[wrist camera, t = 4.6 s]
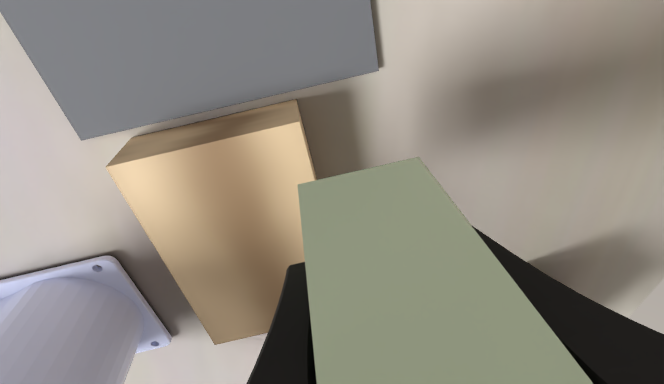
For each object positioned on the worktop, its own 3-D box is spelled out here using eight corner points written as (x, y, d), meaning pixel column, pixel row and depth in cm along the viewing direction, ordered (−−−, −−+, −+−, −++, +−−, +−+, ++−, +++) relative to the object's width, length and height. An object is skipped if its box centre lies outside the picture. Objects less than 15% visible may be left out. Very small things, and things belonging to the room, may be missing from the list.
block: (322, 272, 14) (366, 567, 7) (297, 184, 12) (325, 486, 5) (423, 248, 14) (567, 518, 7) (418, 156, 12) (618, 416, 5)
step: (221, 304, 23) (214, 344, 21) (131, 137, 17) (105, 167, 14) (341, 276, 23) (349, 313, 21) (296, 99, 17) (299, 121, 14)
